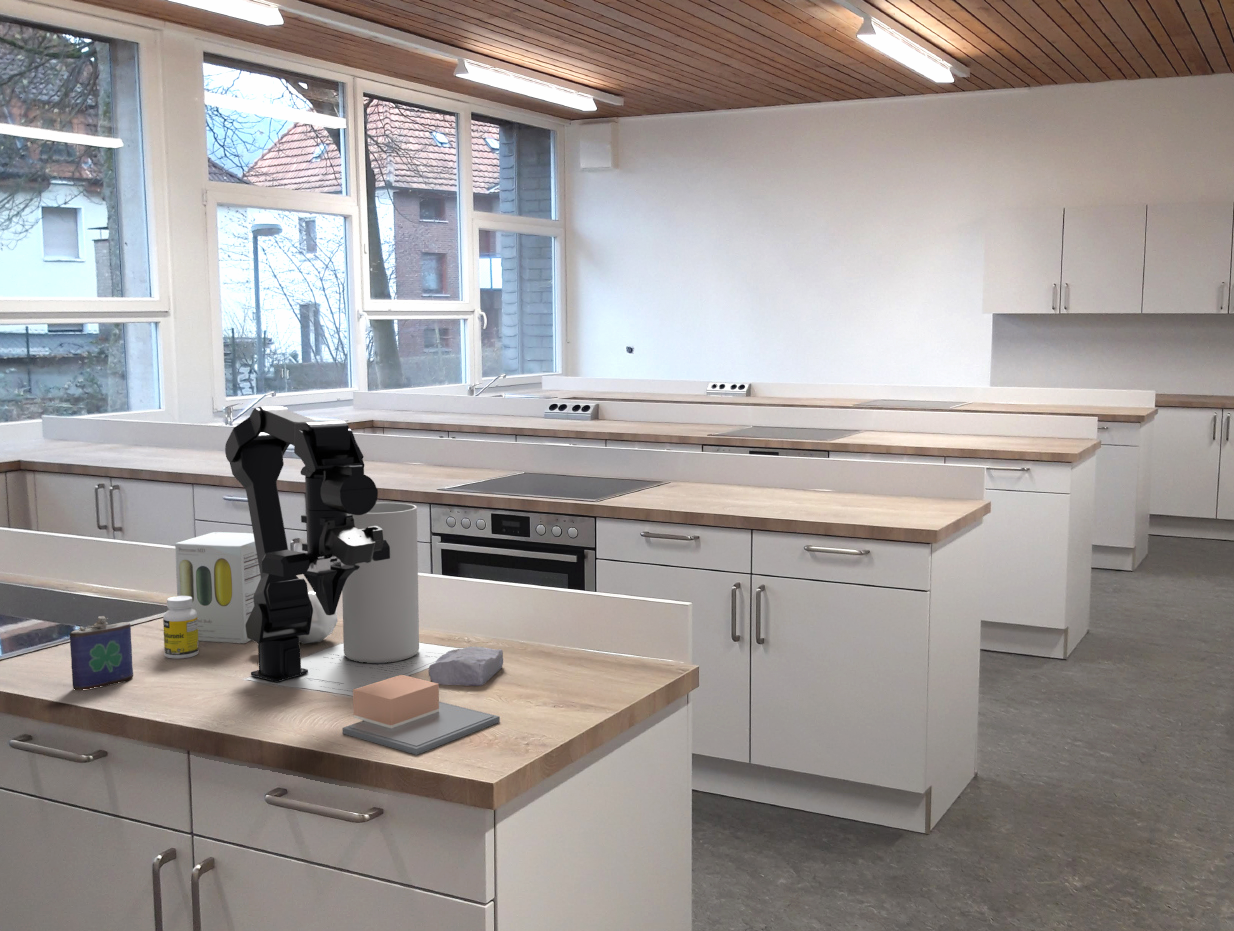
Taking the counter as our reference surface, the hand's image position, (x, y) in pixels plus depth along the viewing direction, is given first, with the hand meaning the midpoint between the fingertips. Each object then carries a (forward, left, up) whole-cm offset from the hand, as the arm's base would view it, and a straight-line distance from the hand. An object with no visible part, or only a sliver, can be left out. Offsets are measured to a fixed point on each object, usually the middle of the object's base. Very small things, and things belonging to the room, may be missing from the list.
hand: (330, 614), depth 170 cm
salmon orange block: (+10, 0, -10) cm, 14 cm away
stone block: (+6, +22, -14) cm, 26 cm away
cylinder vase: (-14, +23, -13) cm, 30 cm away
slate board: (+19, 0, -13) cm, 23 cm away
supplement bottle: (-41, +3, -13) cm, 43 cm away
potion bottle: (-30, +18, -13) cm, 37 cm away
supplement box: (-47, +17, -13) cm, 51 cm away
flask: (-36, -14, -13) cm, 41 cm away
